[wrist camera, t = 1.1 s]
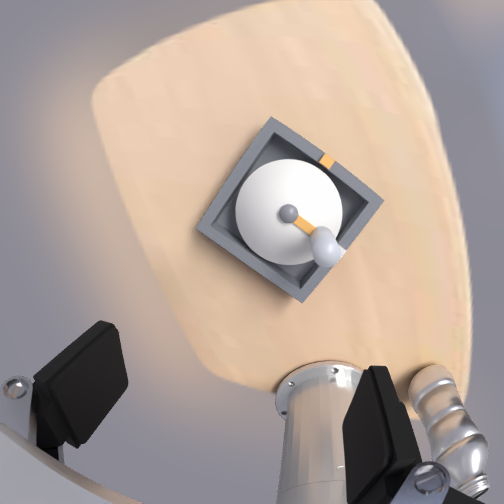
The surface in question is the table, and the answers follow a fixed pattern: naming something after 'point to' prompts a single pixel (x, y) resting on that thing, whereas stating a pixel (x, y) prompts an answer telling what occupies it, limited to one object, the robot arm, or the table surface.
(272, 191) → the white crank wheel
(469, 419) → the plastic bottle
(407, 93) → the table surface
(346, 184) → the housing
